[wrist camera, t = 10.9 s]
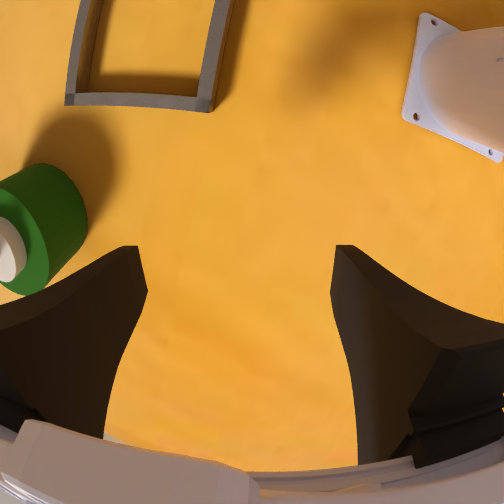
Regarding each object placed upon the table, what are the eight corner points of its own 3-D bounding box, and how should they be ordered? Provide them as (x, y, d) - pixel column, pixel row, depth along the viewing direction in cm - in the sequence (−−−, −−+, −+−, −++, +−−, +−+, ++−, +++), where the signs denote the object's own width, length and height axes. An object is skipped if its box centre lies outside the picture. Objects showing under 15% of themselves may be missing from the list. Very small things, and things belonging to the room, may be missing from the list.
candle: (15, 154, 18) (-77, 201, 9) (93, 178, 19) (-1, 245, 10) (14, 240, 22) (-54, 304, 13) (84, 271, 23) (21, 355, 14)
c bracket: (242, -31, 12) (240, -41, 11) (213, 111, 17) (208, 113, 16) (100, -26, 12) (89, -32, 10) (77, 103, 16) (64, 105, 15)
